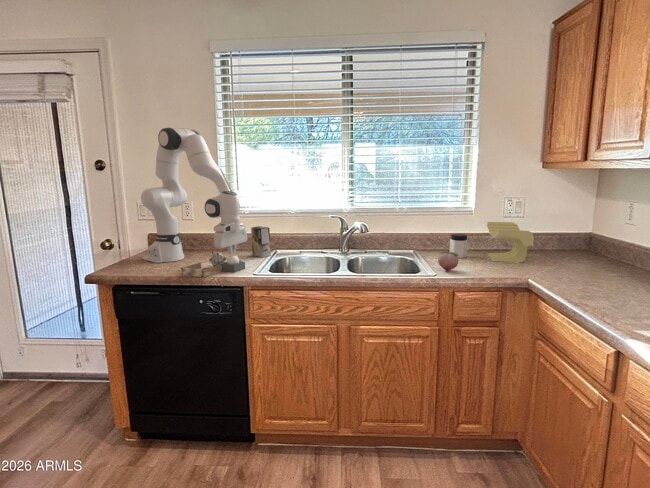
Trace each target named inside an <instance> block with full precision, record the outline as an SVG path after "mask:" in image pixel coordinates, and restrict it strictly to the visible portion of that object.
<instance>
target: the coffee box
mask: <svg viewBox="0 0 650 488" xmlns="http://www.w3.org/2000/svg"><path fill="white" fill-rule="evenodd" d="M250 230H251V231H250V234H251V249H252V250H251V253H252V256H255V257H259V258H266V257H270V256H271V255H272V254H271V238H270V237H271V234H270V227H269V226H259V225H258V226H252V227H250Z"/></svg>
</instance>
